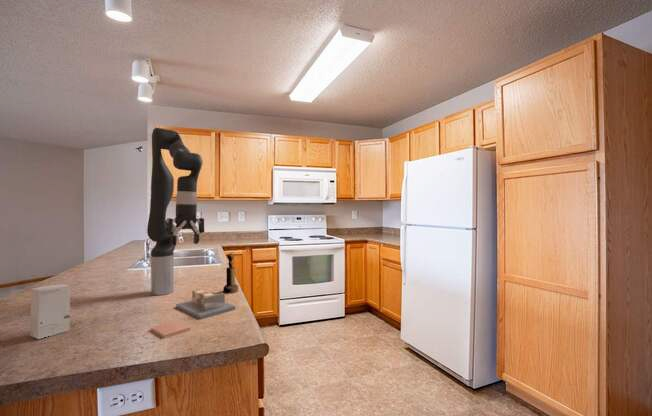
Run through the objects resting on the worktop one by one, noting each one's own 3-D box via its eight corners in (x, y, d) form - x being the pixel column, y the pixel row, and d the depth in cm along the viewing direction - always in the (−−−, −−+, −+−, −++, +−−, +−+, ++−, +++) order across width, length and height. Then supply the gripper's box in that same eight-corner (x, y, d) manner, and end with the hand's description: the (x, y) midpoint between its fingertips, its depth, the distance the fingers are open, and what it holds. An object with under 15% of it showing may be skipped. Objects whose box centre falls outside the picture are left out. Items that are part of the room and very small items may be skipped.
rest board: (176, 307, 123) (176, 304, 123) (209, 299, 134) (209, 296, 134) (200, 319, 110) (200, 315, 110) (235, 309, 121) (235, 306, 121)
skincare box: (37, 340, 93) (37, 290, 93) (29, 336, 96) (29, 288, 96) (71, 330, 100) (71, 284, 100) (62, 327, 103) (62, 282, 103)
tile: (151, 327, 101) (164, 335, 94) (176, 320, 107) (190, 327, 101) (151, 331, 101) (164, 339, 94) (176, 324, 107) (190, 331, 101)
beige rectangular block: (186, 303, 125) (186, 290, 125) (205, 298, 131) (205, 286, 131) (205, 311, 115) (205, 297, 115) (224, 306, 121) (224, 293, 121)
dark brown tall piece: (232, 288, 151) (232, 251, 151) (240, 291, 147) (240, 252, 147) (220, 291, 146) (220, 253, 146) (228, 294, 142) (228, 254, 142)
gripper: (199, 203, 130) (198, 242, 130) (163, 202, 119) (162, 244, 119) (208, 204, 125) (207, 244, 125) (171, 203, 114) (170, 247, 115)
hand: (185, 244), depth 122 cm, fingers open, 8 cm apart
